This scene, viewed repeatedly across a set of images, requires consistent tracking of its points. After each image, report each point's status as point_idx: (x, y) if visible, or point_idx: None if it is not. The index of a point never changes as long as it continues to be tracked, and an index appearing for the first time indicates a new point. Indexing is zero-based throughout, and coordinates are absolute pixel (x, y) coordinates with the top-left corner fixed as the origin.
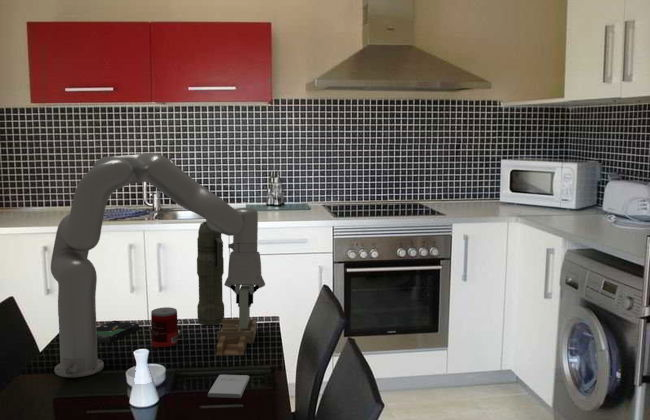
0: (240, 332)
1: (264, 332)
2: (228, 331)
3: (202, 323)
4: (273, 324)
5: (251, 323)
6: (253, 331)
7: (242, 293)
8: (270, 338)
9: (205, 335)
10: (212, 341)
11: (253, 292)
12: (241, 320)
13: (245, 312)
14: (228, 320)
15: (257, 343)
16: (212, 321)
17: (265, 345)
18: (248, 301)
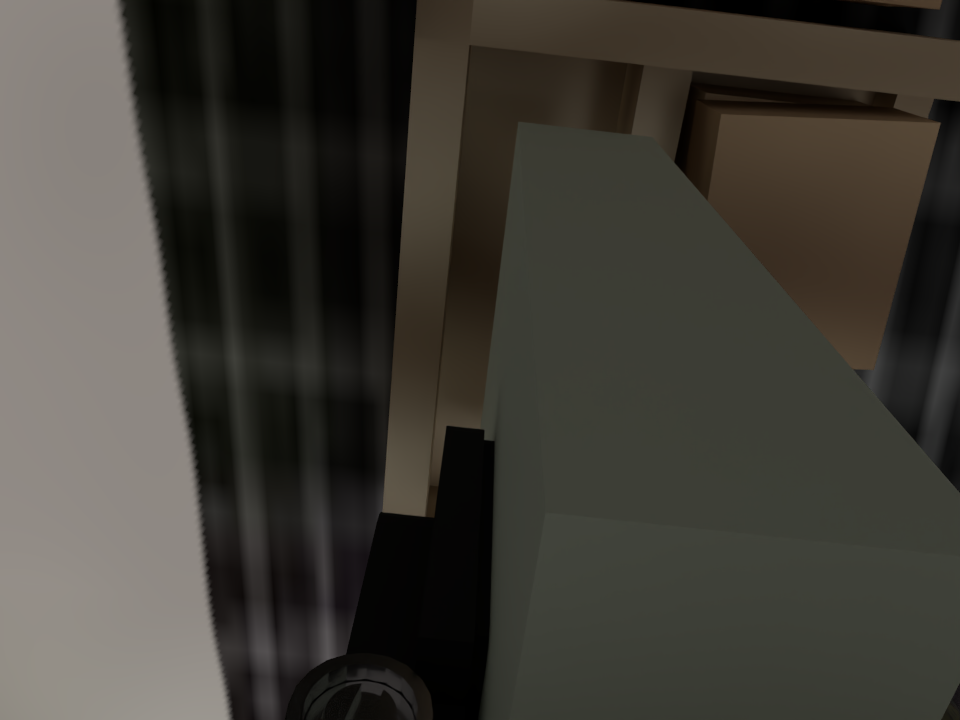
0: (634, 4)
1: (310, 483)
2: (829, 66)
3: (952, 715)
4: (232, 691)
5: None
6: (415, 31)
7: (788, 446)
8: (229, 278)
9: (956, 459)
10: (923, 249)
11: (296, 705)
12: (632, 160)
13: (567, 194)
14: None
15: (381, 104)
16: None
17: (273, 5)
18: (487, 505)
